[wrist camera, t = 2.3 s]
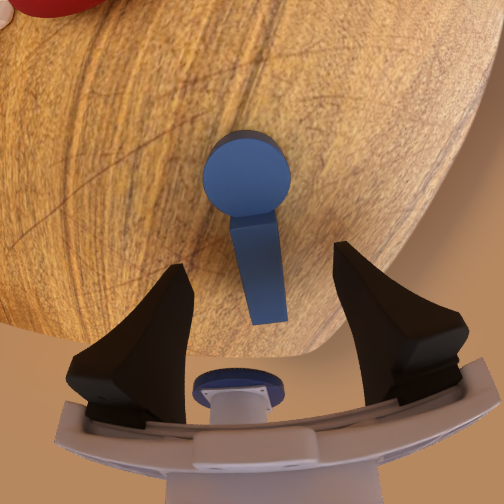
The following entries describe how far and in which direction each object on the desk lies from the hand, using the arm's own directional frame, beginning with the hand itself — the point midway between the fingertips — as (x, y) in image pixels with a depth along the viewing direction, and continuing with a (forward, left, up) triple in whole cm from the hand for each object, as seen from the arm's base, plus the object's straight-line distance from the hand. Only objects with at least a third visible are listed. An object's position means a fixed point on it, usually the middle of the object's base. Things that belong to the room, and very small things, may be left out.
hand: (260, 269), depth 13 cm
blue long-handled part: (0, 0, -4) cm, 4 cm away
